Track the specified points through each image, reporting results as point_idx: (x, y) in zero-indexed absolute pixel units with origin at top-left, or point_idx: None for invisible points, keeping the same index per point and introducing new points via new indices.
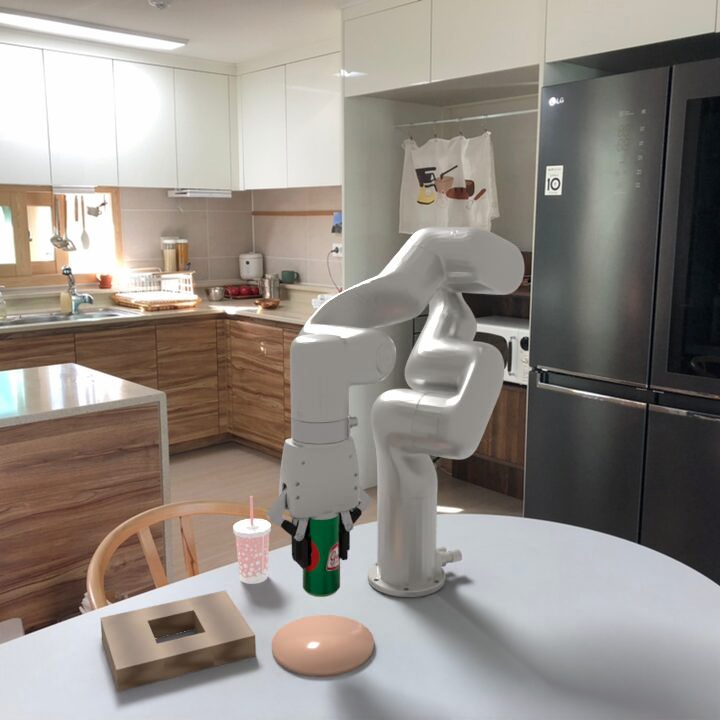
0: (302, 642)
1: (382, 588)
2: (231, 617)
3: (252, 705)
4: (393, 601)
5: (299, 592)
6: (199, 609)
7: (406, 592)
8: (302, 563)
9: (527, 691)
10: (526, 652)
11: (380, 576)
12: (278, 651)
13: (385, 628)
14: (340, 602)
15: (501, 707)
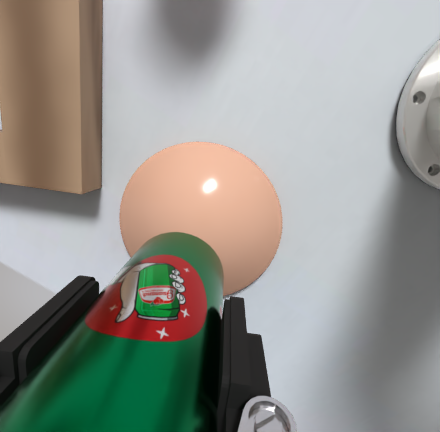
0: (170, 211)
1: (402, 134)
2: (59, 108)
3: (63, 282)
4: (389, 170)
5: (264, 21)
6: (5, 33)
7: (424, 178)
8: None
9: (349, 424)
10: (420, 381)
11: (434, 96)
12: (126, 212)
13: (313, 235)
14: (307, 114)
15: (304, 425)
